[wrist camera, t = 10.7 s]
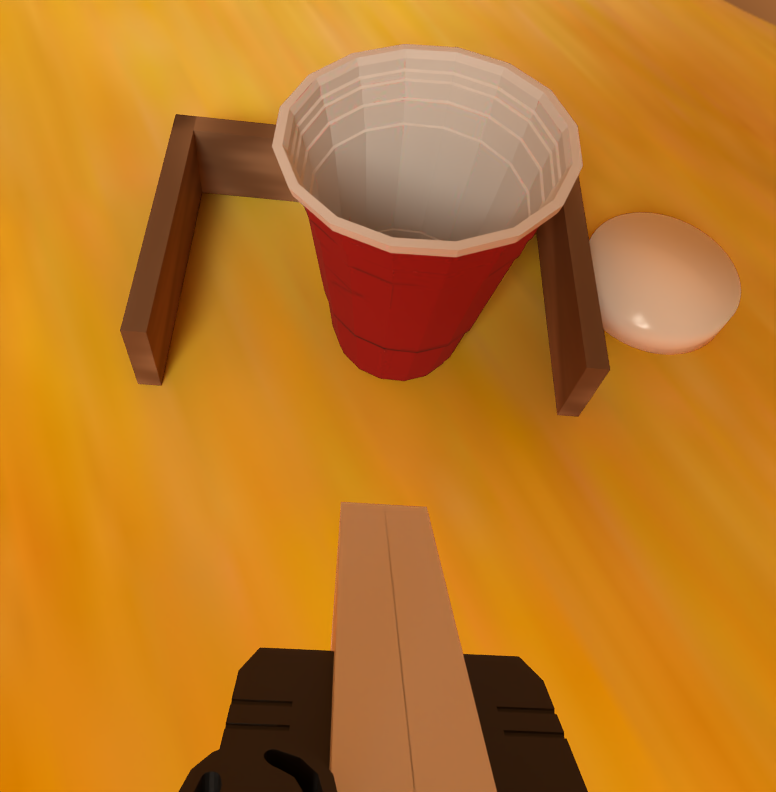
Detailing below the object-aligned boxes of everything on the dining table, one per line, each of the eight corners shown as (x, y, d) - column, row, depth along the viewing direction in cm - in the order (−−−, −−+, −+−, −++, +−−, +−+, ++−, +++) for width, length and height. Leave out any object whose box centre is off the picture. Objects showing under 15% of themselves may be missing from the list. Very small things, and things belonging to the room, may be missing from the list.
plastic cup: (316, 223, 39) (324, 2, 28) (516, 277, 38) (598, 72, 28) (244, 392, 33) (222, 191, 23) (478, 457, 33) (563, 282, 22)
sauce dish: (704, 245, 41) (722, 220, 40) (736, 364, 37) (757, 341, 36) (566, 231, 41) (578, 205, 39) (582, 350, 37) (597, 327, 35)
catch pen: (551, 213, 41) (575, 156, 38) (578, 416, 34) (610, 369, 31) (185, 177, 39) (175, 114, 36) (138, 383, 33) (120, 330, 29)
